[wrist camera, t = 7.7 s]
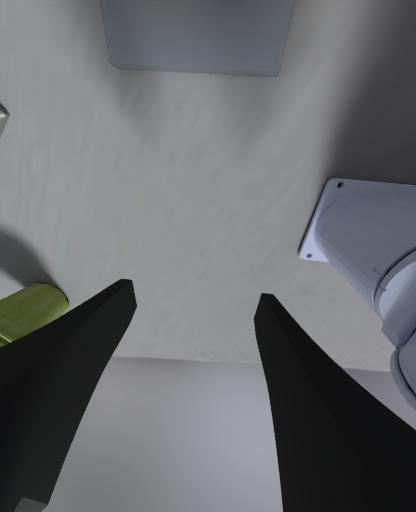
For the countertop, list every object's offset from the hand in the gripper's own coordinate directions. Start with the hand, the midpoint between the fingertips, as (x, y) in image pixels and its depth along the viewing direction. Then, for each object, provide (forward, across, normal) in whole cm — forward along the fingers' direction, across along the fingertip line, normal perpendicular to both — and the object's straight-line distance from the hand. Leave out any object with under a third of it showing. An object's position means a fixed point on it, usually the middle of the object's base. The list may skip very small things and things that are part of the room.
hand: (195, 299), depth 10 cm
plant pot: (+12, +25, +15) cm, 31 cm away
